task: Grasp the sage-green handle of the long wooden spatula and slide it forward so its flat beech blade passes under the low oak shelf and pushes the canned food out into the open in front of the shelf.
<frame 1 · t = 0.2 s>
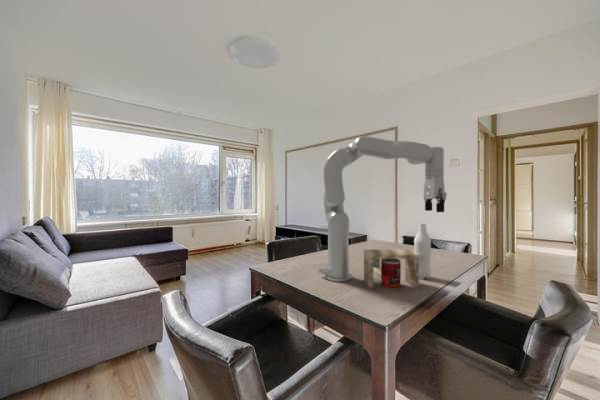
hand: (434, 211, 114), 31 cm above the table, fingers open, 9 cm apart
oak shelf: (389, 284, 106), on the table
canned food: (390, 285, 105), on the table
water bottle: (422, 277, 115), on the table
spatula: (375, 268, 129), on the table
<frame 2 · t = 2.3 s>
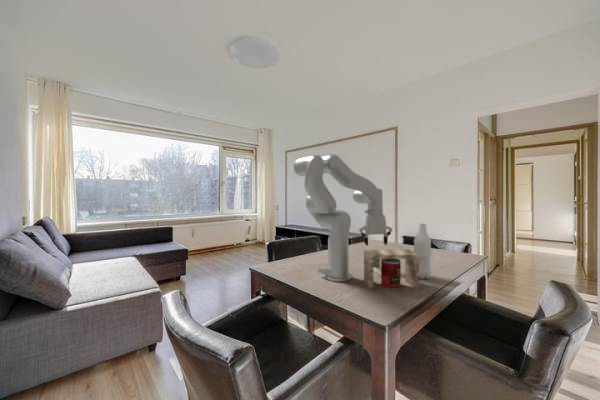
hand: (375, 244, 129), 12 cm above the table, fingers open, 9 cm apart
nothing on the table moved.
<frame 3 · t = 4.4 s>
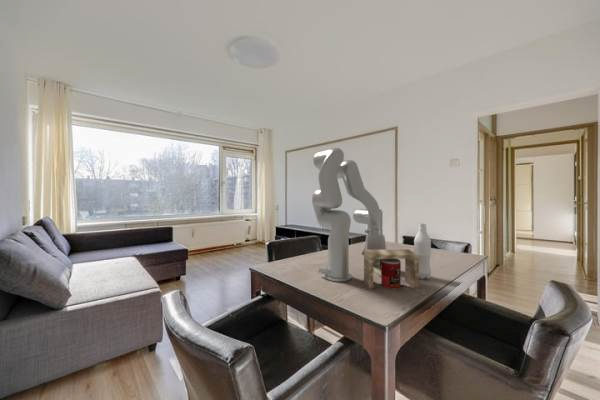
hand: (375, 266, 129), 1 cm above the table, fingers closed on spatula, 4 cm apart
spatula: (375, 268, 129), on the table, touching gripper
everything else where it was.
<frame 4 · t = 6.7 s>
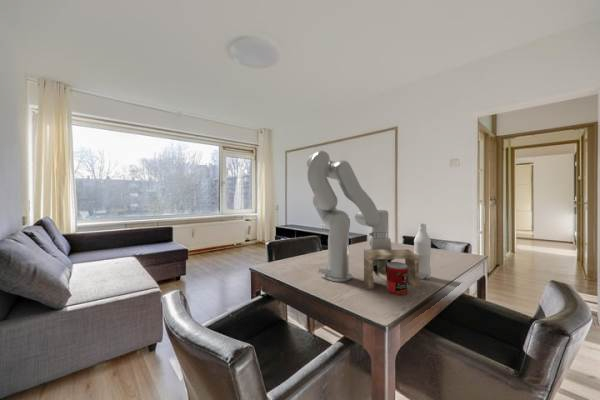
hand: (380, 272, 120), 1 cm above the table, fingers closed on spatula, 4 cm apart
canned food: (397, 292, 98), on the table, touching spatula
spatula: (380, 273, 120), on the table, touching canned food, gripper
everything else where it was.
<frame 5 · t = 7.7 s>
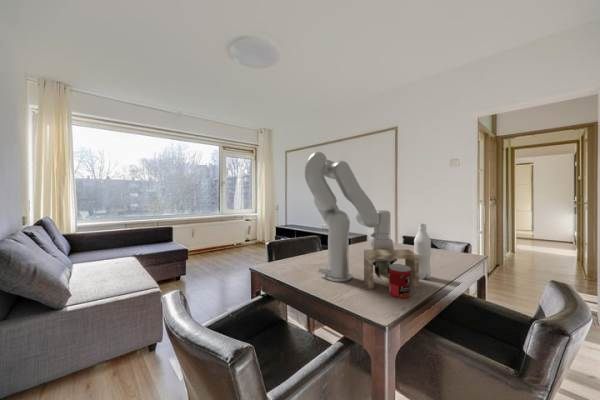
hand: (382, 274, 117), 1 cm above the table, fingers closed on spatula, 4 cm apart
canned food: (399, 295, 96), on the table, touching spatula
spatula: (382, 275, 117), on the table, touching canned food, gripper
everything else where it was.
when the fingers open (1 cm above the table, at t = 9.6 s): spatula stays where it is, on the table.
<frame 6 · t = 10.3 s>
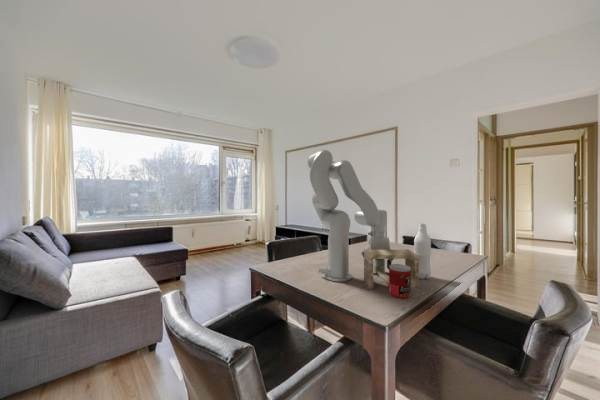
hand: (378, 268, 122), 2 cm above the table, fingers open, 9 cm apart
canned food: (399, 295, 95), on the table
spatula: (379, 272, 122), on the table
everything else where it was.
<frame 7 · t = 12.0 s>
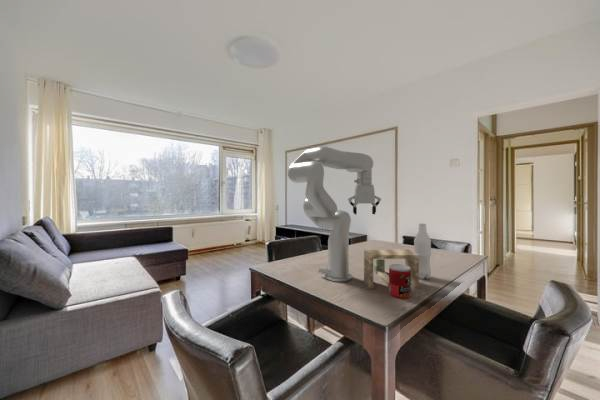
hand: (364, 214, 131), 28 cm above the table, fingers open, 9 cm apart
nothing on the table moved.
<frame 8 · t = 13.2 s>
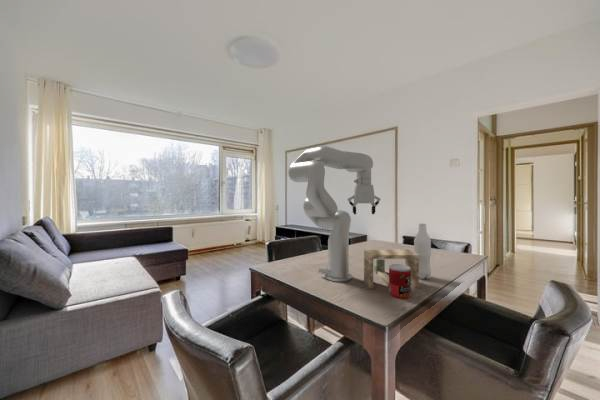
hand: (363, 214, 132), 28 cm above the table, fingers open, 9 cm apart
nothing on the table moved.
at the end: canned food inside the target area (1.4 cm from its centre), on the table; canned food tilted 0°; the gripper is holding nothing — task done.
